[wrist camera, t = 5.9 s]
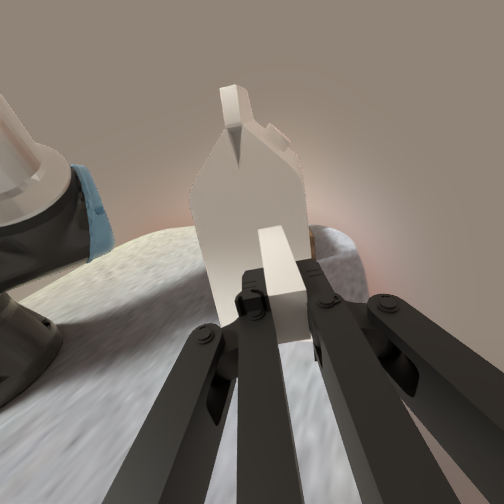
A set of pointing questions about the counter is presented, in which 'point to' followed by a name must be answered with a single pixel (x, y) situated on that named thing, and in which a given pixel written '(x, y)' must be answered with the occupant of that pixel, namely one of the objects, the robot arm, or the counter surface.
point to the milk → (246, 200)
